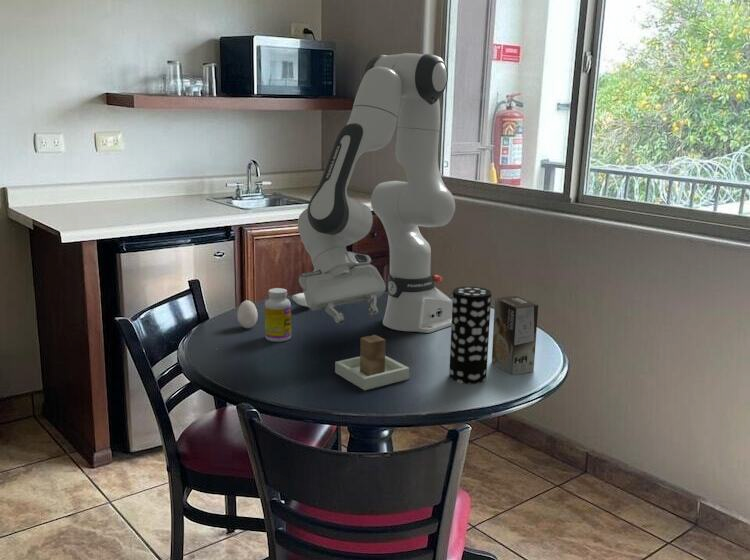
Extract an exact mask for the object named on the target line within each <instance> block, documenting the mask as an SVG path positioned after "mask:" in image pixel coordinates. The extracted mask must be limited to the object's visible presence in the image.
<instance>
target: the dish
mask: <svg viewBox="0 0 750 560" xmlns="http://www.w3.org/2000/svg"><path fill="white" fill-rule="evenodd" d="M334 363H335V364H334V373H336V375H339V376H340V377H342V378H344V379H345V380H347V381H348V382H350V383H352V384H353V385H354V386H356V387H358V388H360V389H362V390H363V391H367V390H372V389H375V388H376V389H377V388H380V387H383V386H386V385H387V386H388V385H391V384H395V383H398V382H403V381H407V380H410V370H411V369H410V367H408V366H406V365H405V364H402V363H400V362H398V361H397V360H395V359H393V358H391V357H389V356H387V355H385V372H383V373H379V374H374V375H370V376H367V375H365V374H364V373H362V372H360V356H355V357H351V358H347V359H341V360H338V361H335V362H334Z"/></svg>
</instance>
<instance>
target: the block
mask: <svg viewBox="0 0 750 560" xmlns="http://www.w3.org/2000/svg"><path fill="white" fill-rule="evenodd" d="M359 343H360V344H359V345H360V346H359V348H360V349H359V352H360V353H359V355H360V372H362V373H364V374H365V375H367V376H370V375H374V374H379V373H383V372H385V356H386V339H385V338H383V337H381V336H379V335H377V334H373V335H367V336H363V337H360V342H359Z"/></svg>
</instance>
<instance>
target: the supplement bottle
mask: <svg viewBox="0 0 750 560" xmlns="http://www.w3.org/2000/svg"><path fill="white" fill-rule="evenodd" d="M267 295H268V299H266V300H265V302H264V329H265V330H264V331H265V336H264V337H265V339H266V340H267V341H269V342H276V343H281V342H287V341H289V340H290V339H292V304H291V301H290V299H288V298H287V296H288V290H287V289H285V288H281V287H280V288H279V287H274V288H270V289H269V290H268V294H267Z"/></svg>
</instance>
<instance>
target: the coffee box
mask: <svg viewBox="0 0 750 560" xmlns="http://www.w3.org/2000/svg"><path fill="white" fill-rule="evenodd" d="M493 311H494V313H493V330H492V331H493V332H492V345H491V346H492V350H491V363H492V364H493V365H495V366H497V367H498V368H500V369H502V370H503V371H505V372H507V373H509V374H510V375H512V376H516V375H520V374H527V373H532V372H534V371H535V359H536V357H535V356H536V344H537V343H536V341H537V328H538V315H539V304H536V303H535V302H531V301H529V300H527V299H524V298H522V297H520V296H517V295H510V296H501V297H496V298H494V310H493Z"/></svg>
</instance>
